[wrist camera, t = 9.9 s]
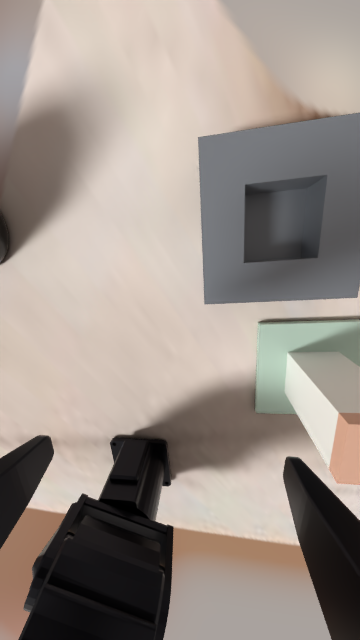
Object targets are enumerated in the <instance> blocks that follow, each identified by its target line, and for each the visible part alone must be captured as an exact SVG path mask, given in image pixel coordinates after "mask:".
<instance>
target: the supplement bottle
mask: <svg viewBox="0 0 360 640" xmlns="http://www.w3.org/2000/svg"><path fill="white" fill-rule="evenodd" d="M8 244H9V237H8V230H7V226H6V223H5V221H4V219H3V217H2V215H1V213H0V262H1V261H2V260H3V259H4V257H5V255H6V253H7V250H8Z"/></svg>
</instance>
